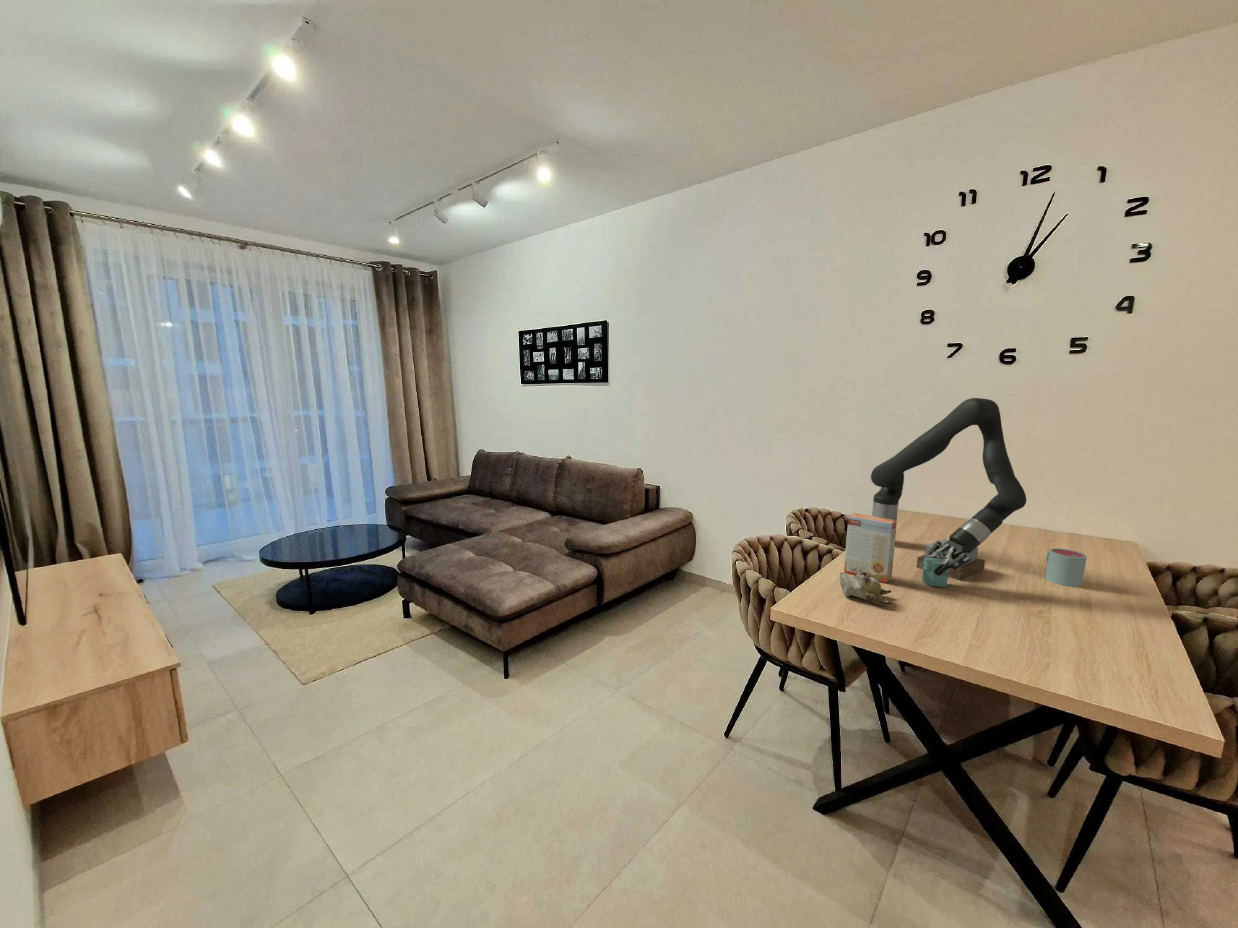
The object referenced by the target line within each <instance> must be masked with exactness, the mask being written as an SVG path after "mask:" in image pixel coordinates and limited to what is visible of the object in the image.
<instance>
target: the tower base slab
mask: <svg viewBox="0 0 1238 928" xmlns="http://www.w3.org/2000/svg"><path fill="white" fill-rule="evenodd" d="M924 558H925V554H923V555H919V556H917V561H916V568H917V569H921V570H923V567H924V566H923V563H924ZM985 564H986V559H983V558H981V557H980V558H979V557H977V560H974V561H972V562H970V563H968V564H966V565H964V566H961V567H959V568H957V569H956V570H953V569H952V568H951V569H949V572H948V578H951V579H952V580H953V579H954V580H956V581H961V580H964V579H966V578H968V577H971V576H974V575H975V574H978V573H980V572H983V571H985V566H986V565H985Z"/></svg>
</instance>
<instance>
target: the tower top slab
mask: <svg viewBox="0 0 1238 928" xmlns="http://www.w3.org/2000/svg"><path fill="white" fill-rule="evenodd" d="M939 541H940V542H941V543H945V542H947V541H949V539H944V538H943V539H942V540H939ZM935 543H936V542H933V543H931V544H928V545H926V546H925V554H924V555H925V558H930V555H929V554H928V552H929V550H930V549H931V548H932V547H933V545H934V544H935ZM934 552H935V551H934ZM934 552H933V553H934ZM978 552H979V546H978V547H977V548H975V549H974V550H973V551H972V552H971V553H966V554H967V555H968V556H969V558H970V559H971V560H970V561H969V562H967V563H965V564H964V565H966V564H968V563H970V562H972V561H974V560H977V558H978V554H979V553H978ZM940 553H941V552H940ZM941 554H942V553H941ZM942 555H943V554H942ZM938 556H939V555H937V556H936V557H938ZM945 559H946V558H945ZM945 559H942V560H944V561H945ZM956 564H958V562H957V563H956ZM956 564H954V565H956ZM964 565H962V566H964Z"/></svg>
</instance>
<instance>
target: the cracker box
mask: <svg viewBox="0 0 1238 928" xmlns="http://www.w3.org/2000/svg"><path fill="white" fill-rule="evenodd" d="M897 520H898V519H897ZM897 520H891V519H885V518H880V517H874V516H872V515H867V514H861V513H856V512H854V513H853V514H850V515H848V519H847V530H846V542H845V555H844V565H843V566H844V567H843V573H845V574H848V575H854V576H856V575H857V574H859V573H867V576H870V577H874V578H876V579H877V580H878V581H879V583H885V584H886V583H888V582H889V581H890V580H892V578H893V577H892V576H893V569H894V568H893V567H894V566H893V565H894V557H895V546H896V538H897V537H896V536H897V535H896V534H897V525H898V521H897Z"/></svg>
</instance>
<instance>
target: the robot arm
mask: <svg viewBox="0 0 1238 928" xmlns="http://www.w3.org/2000/svg"><path fill="white" fill-rule="evenodd" d="M971 426H977V427H978V429H979V430H980V433H981V434H982V439H983V448H982V449H983V450H982V463H983V468H984V470H985V474H986V476H987V479H988V482H990V484H991V485H994V487H995V490H996V491H997V494H996V495H995V496H994V497H992V498H991V499H990V500H989V502H988V503H987V504H986V505H985V506H984V507H983V508H982V509H980V510H979V511H977V512H976V513H975V514H974V515H973V516H971V518H970V519H968V520H967V521H965V522H964V523H962V524H961V525H960V526H959V527H958V528H957V529H956V530H954V532H953V533H951V534H950V535H949V537H948V538H949V539H948V540H949V541H947V542H945V543H941V542H940V541H941V540H937V541H936V542H934V543H935V544H934V545H933V547H932V548H931V549H930V550H929V552H928V554H929V555H930V558H940V559H945V558H946V559H945V561H944V562H943V564H941V565H940V566H938V567H937V568H936V569H935V570H934V573H935V574H936V575H938V576H940V575H941V574H943V573H944V572H945V571H946V570H947V569H951V568H952V569H953V570H956V569H957V568H959V567H961V566H962V565H964V564H965V563H967V562H969V561H970V560H971V559H970V558H969V556H968V555H967V554H966V553H971V552H972V551H973V550H974V549H975V548H977V547H978V548H979V546H980V545H981V544H982V543H983V542H985V541H986V540H987V539H988V537H990V536H991V535H992V534H993V533H994V532H995V531H996V530H997V529H998V528H999V527H1000V526H1001V525H1002V524H1003V522H1004V521H1005V520H1006V519H1007V518H1008V517H1010V516H1011V515H1012V514H1013V513H1015V512H1016V511H1019V510H1021V509H1023V508H1024V507H1025V505H1026V504H1027V495H1026V493H1025V490H1024V488H1023V486H1022V484H1021V483H1020V481H1019V480H1018V478H1017V477H1016V476H1015V472H1014V469H1013V466H1012V463H1011V460H1010V457H1009V454H1008V451H1007V447H1006V443H1005V438H1004V431H1003V426H1002V418H1001V412H1000V407H999V405H998V403H997V402H995V401H994V400H993V399H988V398H980V397H979V398H978V397H972V398H971V397H970V398H967V399H965V400H963V401H962V402H961V403H959V404H958V405H957V406H956V407H955V408H954V409H952V410H951V412H950V413H948V414H947V416H945V417H944V418H943V419H942V420H940V421H939V422H938V423H937V424H935V425H933V426H932V427H931V428H929V429H928V430H927V431H925V432H923V434H921V435H919V436H918V437H917V438H915V439H914V440H913V441H912V442H910V443H909V444H907V445H906V446H905V447H904V448H902V449H901V450H900V451H899V452H897V453H896V454H895V455H893V456H892V457H890V458H889V459H887V460H885V461H883V462H881V463H880V464H878V465H877V466H875V467H874V468H873V470H872V471H871V475H870V480H871V482H872V484H873V485H875V486H877V487H880V489H879V490H878V491H877V492H876V493H875V494H874V495H873V502H872V511H871V512H872V513H871V516H874V517H880V518H885V519H891V520H898V513H899V511H898V510H899V504H900V503H899V501H900V499H901V497H902V495H903V490H904V482H905V473H904V472H906V471H908V470H909V471H910V470H911V469H913V468H914V469H915V468H916V467H918V466H921V465H923V464H926V463H927V462H929V461H931V460H933V459H934V458H936V457H937V456H939V455H940V454H942V453H943V452H944V451H945V450H946V449H947V448H948V446H949V445H950V443H951V441H952V440H953V439H954V437H956V436H957V435H958V434H959V433H961V432H962V431H964V430H965V429H967V428H969V427H971ZM934 551H935V552H934ZM933 552H934V553H933ZM940 552H941V553H942V554H943V555H942V554H941V553H940ZM937 555H939V556H938V557H936V556H937ZM957 562H958V564H956V563H957ZM954 564H956V565H954ZM923 566H924V563H923Z"/></svg>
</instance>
